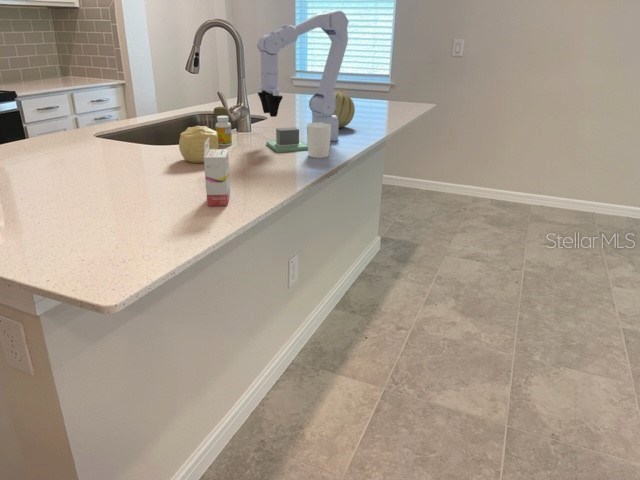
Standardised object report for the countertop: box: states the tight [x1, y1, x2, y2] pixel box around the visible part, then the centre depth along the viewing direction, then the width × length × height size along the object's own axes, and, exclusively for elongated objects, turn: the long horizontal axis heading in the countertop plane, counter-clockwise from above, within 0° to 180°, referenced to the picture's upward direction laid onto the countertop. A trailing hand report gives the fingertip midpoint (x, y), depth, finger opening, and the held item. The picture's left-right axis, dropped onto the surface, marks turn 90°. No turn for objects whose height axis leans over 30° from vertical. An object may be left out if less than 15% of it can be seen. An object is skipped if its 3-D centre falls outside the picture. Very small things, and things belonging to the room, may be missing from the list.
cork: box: [213, 106, 229, 131], centre depth 185 cm, size 6×6×11 cm
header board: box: [266, 139, 308, 153], centre depth 172 cm, size 12×12×4 cm
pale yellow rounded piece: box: [178, 125, 219, 164], centre depth 152 cm, size 12×12×11 cm
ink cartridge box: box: [203, 137, 231, 207], centre depth 117 cm, size 9×5×15 cm, turn 5°
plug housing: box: [275, 127, 300, 145], centre depth 172 cm, size 7×4×5 cm, turn 112°
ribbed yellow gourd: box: [332, 89, 356, 129], centre depth 205 cm, size 15×15×15 cm
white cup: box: [306, 122, 331, 159], centre depth 161 cm, size 8×8×10 cm
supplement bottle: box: [214, 115, 233, 147], centre depth 173 cm, size 5×5×10 cm
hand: (270, 114), depth 172 cm, fingers open, 7 cm apart
